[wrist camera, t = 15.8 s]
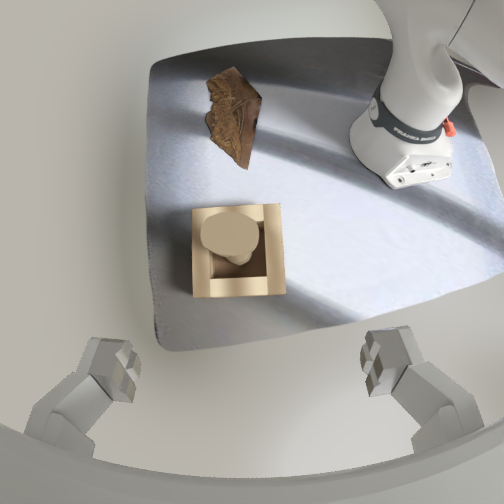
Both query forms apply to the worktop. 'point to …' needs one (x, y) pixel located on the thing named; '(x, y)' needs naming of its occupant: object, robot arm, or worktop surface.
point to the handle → (230, 236)
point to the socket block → (246, 275)
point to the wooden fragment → (233, 114)
